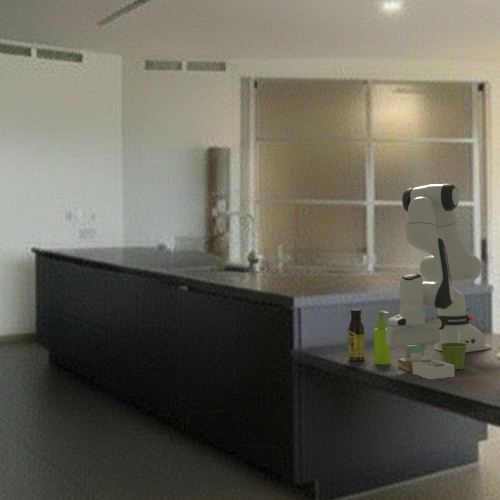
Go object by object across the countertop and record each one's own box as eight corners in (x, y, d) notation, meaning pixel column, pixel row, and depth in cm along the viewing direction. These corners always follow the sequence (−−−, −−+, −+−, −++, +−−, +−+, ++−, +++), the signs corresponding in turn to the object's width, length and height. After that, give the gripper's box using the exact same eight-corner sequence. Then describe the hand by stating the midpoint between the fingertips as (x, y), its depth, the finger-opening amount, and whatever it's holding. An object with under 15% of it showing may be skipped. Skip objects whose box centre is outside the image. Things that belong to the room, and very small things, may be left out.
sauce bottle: (347, 359, 297) (345, 308, 297) (362, 358, 298) (361, 307, 297) (350, 362, 291) (349, 310, 290) (366, 361, 291) (365, 309, 291)
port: (438, 371, 268) (437, 358, 267) (454, 376, 257) (454, 363, 257) (412, 373, 265) (412, 360, 265) (428, 379, 254) (427, 366, 254)
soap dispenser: (382, 365, 281) (381, 312, 280) (371, 363, 287) (369, 310, 286) (395, 363, 284) (393, 310, 283) (384, 361, 290) (382, 309, 289)
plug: (415, 366, 277) (415, 344, 277) (422, 368, 273) (421, 346, 272) (405, 367, 276) (405, 345, 276) (412, 369, 272) (411, 347, 271)
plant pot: (463, 372, 265) (463, 347, 264) (437, 370, 270) (436, 345, 269) (471, 367, 273) (470, 343, 272) (445, 365, 278) (444, 341, 277)
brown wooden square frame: (418, 364, 280) (418, 356, 280) (431, 369, 271) (431, 361, 271) (397, 366, 278) (397, 358, 278) (409, 371, 269) (409, 363, 269)
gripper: (434, 315, 280) (435, 353, 280) (383, 319, 274) (384, 357, 275) (442, 317, 274) (443, 355, 274) (391, 321, 268) (392, 360, 269)
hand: (413, 356), depth 274 cm, fingers closed on plug, 4 cm apart
